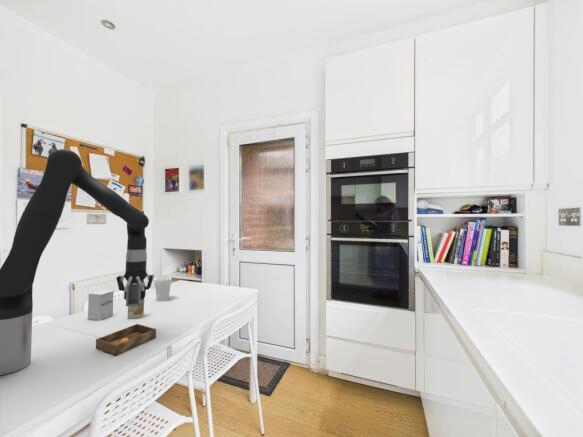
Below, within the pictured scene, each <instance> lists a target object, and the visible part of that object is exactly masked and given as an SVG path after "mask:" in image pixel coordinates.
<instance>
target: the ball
mask: <svg viewBox="0 0 583 437" xmlns="http://www.w3.org/2000/svg"><path fill="white" fill-rule="evenodd" d="M127 340H129V339H128V338H123V339H121V340H120V342H119V344H120V343H123V342H125V341H127Z"/></svg>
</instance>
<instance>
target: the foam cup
mask: <svg viewBox="0 0 583 437" xmlns="http://www.w3.org/2000/svg"><path fill="white" fill-rule="evenodd" d="M171 285H172V277H171V276H162V277H160V276H159V277H156V278H154V287H155V296H156V301H157V302H166V301H168V300H169V297H170V291H171ZM165 300H166V301H165Z"/></svg>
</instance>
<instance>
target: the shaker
mask: <svg viewBox="0 0 583 437" xmlns="http://www.w3.org/2000/svg"><path fill="white" fill-rule="evenodd" d="M141 291H142V290H141V286H139V284H131V285H130V286H127V292H126V299H125V307H128V306H139V305H141V303H142V302H143V300H141Z"/></svg>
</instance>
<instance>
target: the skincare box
mask: <svg viewBox="0 0 583 437" xmlns="http://www.w3.org/2000/svg"><path fill="white" fill-rule="evenodd" d="M144 312H145V298H144V299H143V302H142V303H141V305H139V306H127V320H128V319H140V318H141V319H142V318H143V316H144Z"/></svg>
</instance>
